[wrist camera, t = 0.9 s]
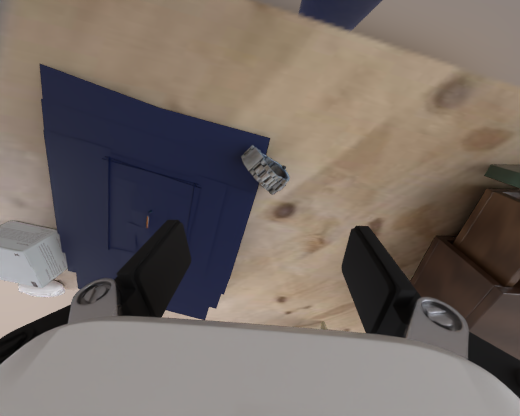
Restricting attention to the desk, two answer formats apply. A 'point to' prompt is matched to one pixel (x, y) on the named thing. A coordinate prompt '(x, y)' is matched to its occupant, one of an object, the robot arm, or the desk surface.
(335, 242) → the desk surface
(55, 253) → the small box
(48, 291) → the white rounded lump
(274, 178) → the wristwatch
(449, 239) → the cabinet
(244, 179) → the dark blue flat piece
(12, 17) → the desk surface
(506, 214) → the drawer
